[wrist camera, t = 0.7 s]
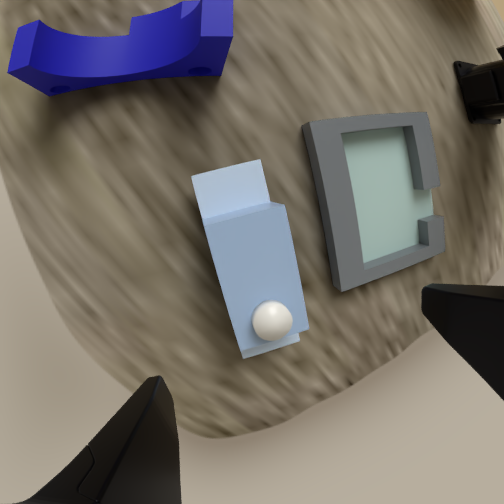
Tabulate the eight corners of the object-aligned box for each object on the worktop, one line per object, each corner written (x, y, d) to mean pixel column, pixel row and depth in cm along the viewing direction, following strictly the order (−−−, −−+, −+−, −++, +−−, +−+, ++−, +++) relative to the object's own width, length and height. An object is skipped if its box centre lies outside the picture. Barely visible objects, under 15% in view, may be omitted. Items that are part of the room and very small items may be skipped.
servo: (253, 161, 19) (277, 153, 13) (290, 327, 22) (319, 370, 16) (191, 177, 18) (190, 173, 13) (238, 343, 21) (253, 392, 16)
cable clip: (221, 22, 16) (233, -27, 10) (220, 76, 17) (232, 36, 11) (58, 42, 14) (24, 8, 8) (50, 96, 15) (7, 72, 9)
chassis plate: (415, 114, 20) (426, 111, 18) (434, 247, 23) (445, 251, 21) (301, 125, 19) (309, 121, 17) (333, 285, 22) (341, 291, 20)
